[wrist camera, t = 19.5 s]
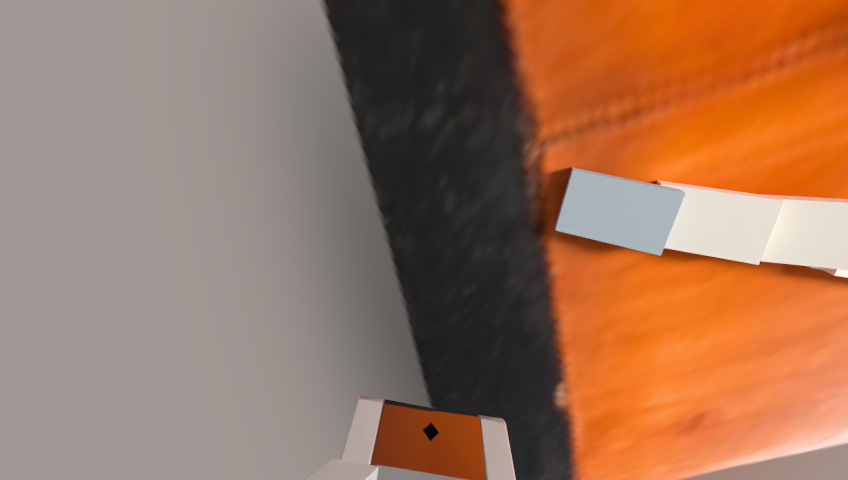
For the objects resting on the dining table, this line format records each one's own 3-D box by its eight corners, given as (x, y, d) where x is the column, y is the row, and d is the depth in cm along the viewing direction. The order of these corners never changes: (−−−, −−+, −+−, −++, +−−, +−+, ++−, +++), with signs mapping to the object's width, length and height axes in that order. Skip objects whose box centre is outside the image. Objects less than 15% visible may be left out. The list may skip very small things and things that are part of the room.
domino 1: (555, 230, 33) (660, 255, 32) (573, 169, 32) (685, 193, 30) (555, 225, 35) (656, 249, 33) (572, 167, 33) (679, 189, 32)
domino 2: (643, 244, 33) (758, 265, 31) (661, 183, 32) (784, 200, 30) (640, 238, 35) (750, 257, 33) (657, 180, 33) (774, 196, 31)
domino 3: (730, 258, 33) (860, 271, 30) (744, 196, 32) (882, 204, 29) (724, 252, 35) (848, 264, 32) (738, 193, 33) (869, 200, 30)
